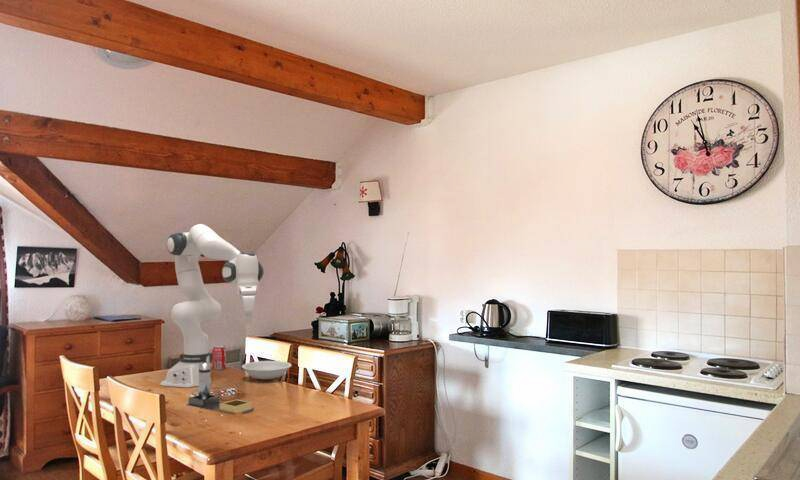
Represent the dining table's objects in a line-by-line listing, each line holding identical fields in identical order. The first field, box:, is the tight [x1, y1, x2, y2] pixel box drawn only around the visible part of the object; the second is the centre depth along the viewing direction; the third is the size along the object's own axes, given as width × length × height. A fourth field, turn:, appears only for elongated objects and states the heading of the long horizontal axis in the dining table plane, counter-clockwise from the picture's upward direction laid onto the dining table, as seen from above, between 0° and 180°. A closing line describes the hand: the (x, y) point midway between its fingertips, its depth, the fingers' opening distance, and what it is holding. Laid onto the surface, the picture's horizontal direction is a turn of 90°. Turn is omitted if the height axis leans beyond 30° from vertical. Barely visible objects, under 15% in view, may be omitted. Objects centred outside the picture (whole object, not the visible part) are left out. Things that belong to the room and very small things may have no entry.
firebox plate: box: [186, 393, 255, 416], centre depth 224 cm, size 26×11×4 cm, turn 60°
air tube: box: [197, 361, 212, 400], centre depth 229 cm, size 5×5×16 cm
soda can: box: [211, 345, 227, 371], centre depth 302 cm, size 7×7×12 cm
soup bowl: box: [241, 360, 293, 380], centre depth 280 cm, size 24×24×7 cm
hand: (248, 323), depth 238 cm, fingers open, 8 cm apart
